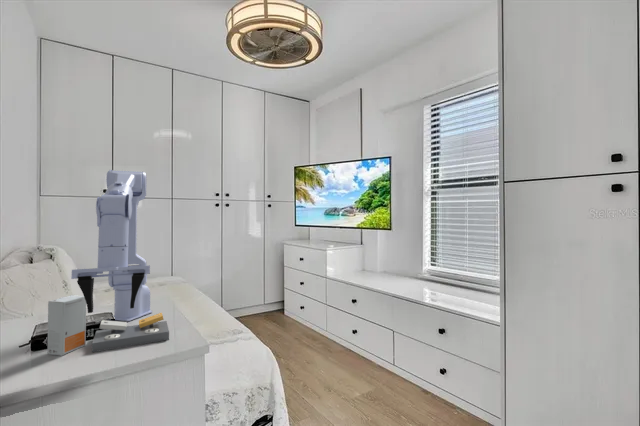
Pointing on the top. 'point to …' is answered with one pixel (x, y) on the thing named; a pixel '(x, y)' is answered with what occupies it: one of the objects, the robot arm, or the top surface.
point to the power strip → (130, 336)
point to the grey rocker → (113, 325)
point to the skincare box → (66, 324)
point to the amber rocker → (150, 320)
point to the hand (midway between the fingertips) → (111, 310)
